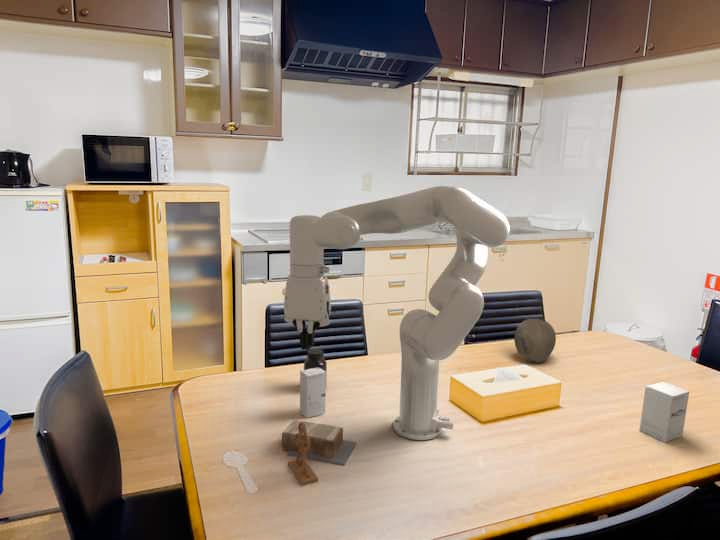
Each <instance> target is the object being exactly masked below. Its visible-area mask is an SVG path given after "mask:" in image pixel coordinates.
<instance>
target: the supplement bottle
mask: <svg viewBox="0 0 720 540" xmlns="http://www.w3.org/2000/svg"><path fill="white" fill-rule="evenodd" d="M306 354H307V358H306V359H305V360H304V362H303V370H307V369H312V368H318V367H319V368H321V369H322V370H324V371H325V372H326V373H327V369H328V368H327V364H328V363H327V360H326V359H324V350H322V349H320V348H310V349H309V350H307V353H306Z"/></svg>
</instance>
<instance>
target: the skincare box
mask: <svg viewBox="0 0 720 540" xmlns="http://www.w3.org/2000/svg"><path fill="white" fill-rule="evenodd" d="M299 375H300V376H299V413H301V415H302V416H304V418H307V419H308V418H311V417H317V416H320V415H323V414H325V413H326V410H327V409H326V407H327V406H326V405H327V404H326V401H327V398H326V395H327V394H326V392H327V390H326V389H327V371H326V372H325V371H324V370H322V369H321V368H319V367H318V368H312V369H307V370H304V369H303V370H299Z"/></svg>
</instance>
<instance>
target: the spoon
mask: <svg viewBox="0 0 720 540" xmlns="http://www.w3.org/2000/svg"><path fill="white" fill-rule="evenodd" d="M222 458H223V459H222V462H223V464H224V465H225V466H226V467H229V468H235V469H236V470H237V472H238V474H239V477H240V479H241V481H242V483H243V485H244V488H245V491H246V492H247V493H249V494H254V493H257V492H258V491H259V487H258V486H257V485H256V483H255V482H254V481H253V479H252V478H251V476H250V475H249V473H247V471H246V469H245V468H244V465H246V464H247V462H248V456H247V455H246V454H244V453H242V451H239V450H230V451H228V452H227V451H226V453H225V454H224V455H223V457H222Z"/></svg>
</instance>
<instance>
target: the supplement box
mask: <svg viewBox="0 0 720 540" xmlns="http://www.w3.org/2000/svg"><path fill="white" fill-rule="evenodd" d="M689 395H690V391H689V390H687V389H684V388H682V387H679V386H675V385H673V384H671V383H667V382H665V381H661V382H657V383H652V384H649V385H645V391H644V396H643V402H642V410H641V418H640V424H639V431H640V432H643V433H644V434H646V435H649V436H651V437H652V438H655V439H656V440H659V441H661V442H663V443H667V442H669V441H672V440H675V439H677V438H681V437H683V436H684V435H683V434H684V428H685V421H686V414H687V409H688V403H689Z"/></svg>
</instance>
